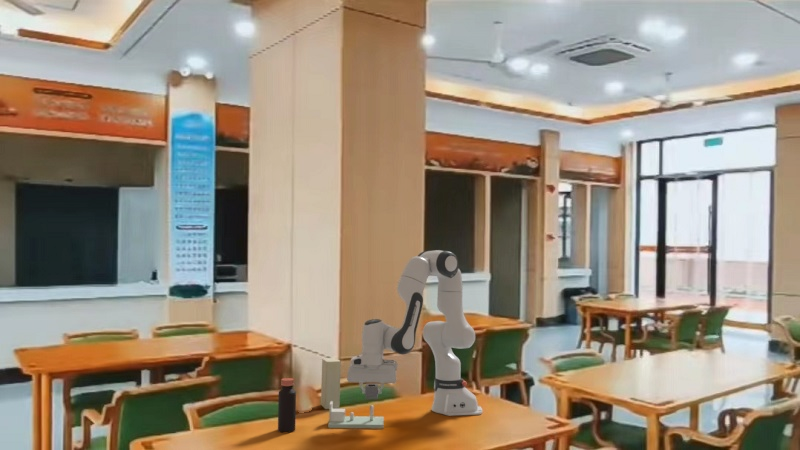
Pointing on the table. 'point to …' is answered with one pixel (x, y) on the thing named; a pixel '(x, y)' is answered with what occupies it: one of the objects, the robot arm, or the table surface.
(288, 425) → the bottle
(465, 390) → the robot arm
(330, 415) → the cover
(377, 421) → the base
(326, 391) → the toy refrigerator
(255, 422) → the table surface
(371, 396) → the collar
